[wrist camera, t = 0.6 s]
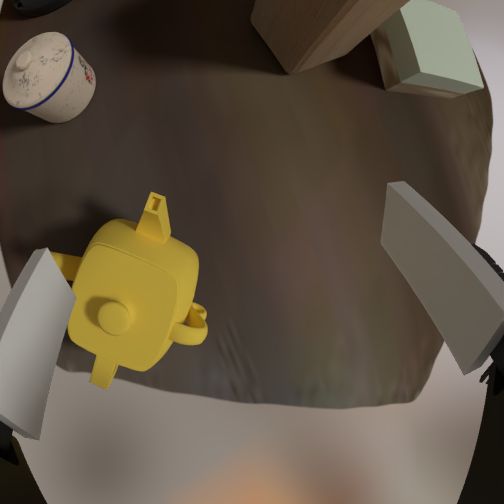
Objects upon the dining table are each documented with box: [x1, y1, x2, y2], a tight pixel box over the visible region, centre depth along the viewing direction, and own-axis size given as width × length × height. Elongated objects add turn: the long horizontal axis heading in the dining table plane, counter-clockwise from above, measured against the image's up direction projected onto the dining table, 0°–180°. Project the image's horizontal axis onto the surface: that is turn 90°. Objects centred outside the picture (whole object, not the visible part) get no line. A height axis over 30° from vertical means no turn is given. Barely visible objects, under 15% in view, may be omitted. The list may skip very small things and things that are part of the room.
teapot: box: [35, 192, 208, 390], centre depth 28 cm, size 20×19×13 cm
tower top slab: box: [383, 0, 484, 94], centre depth 28 cm, size 13×13×4 cm
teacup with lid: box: [3, 32, 96, 123], centre depth 23 cm, size 12×9×12 cm
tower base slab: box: [370, 23, 464, 99], centre depth 32 cm, size 13×13×4 cm
